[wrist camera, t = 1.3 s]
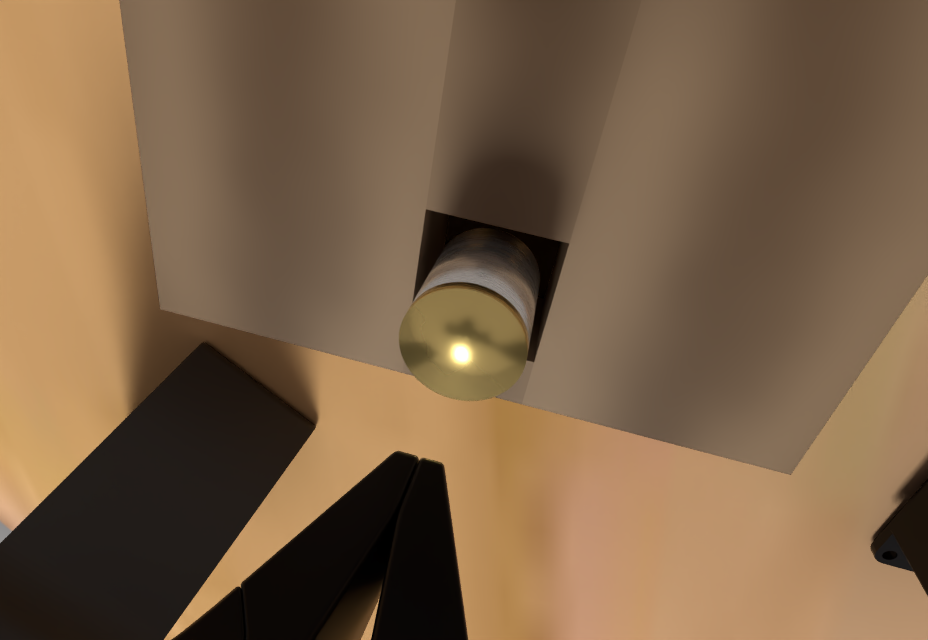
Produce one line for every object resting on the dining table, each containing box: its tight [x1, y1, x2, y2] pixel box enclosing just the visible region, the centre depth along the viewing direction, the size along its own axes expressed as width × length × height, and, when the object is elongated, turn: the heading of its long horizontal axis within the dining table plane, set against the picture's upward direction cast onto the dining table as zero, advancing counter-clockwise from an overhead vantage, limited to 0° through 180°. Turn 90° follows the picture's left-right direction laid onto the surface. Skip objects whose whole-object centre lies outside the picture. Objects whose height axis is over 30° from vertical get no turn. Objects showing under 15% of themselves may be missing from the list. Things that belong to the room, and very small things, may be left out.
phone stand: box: [0, 342, 316, 640], centre depth 21 cm, size 9×6×12 cm, turn 139°
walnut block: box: [119, 0, 928, 475], centre depth 15 cm, size 20×17×4 cm
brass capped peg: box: [399, 228, 540, 401], centre depth 14 cm, size 3×3×4 cm
